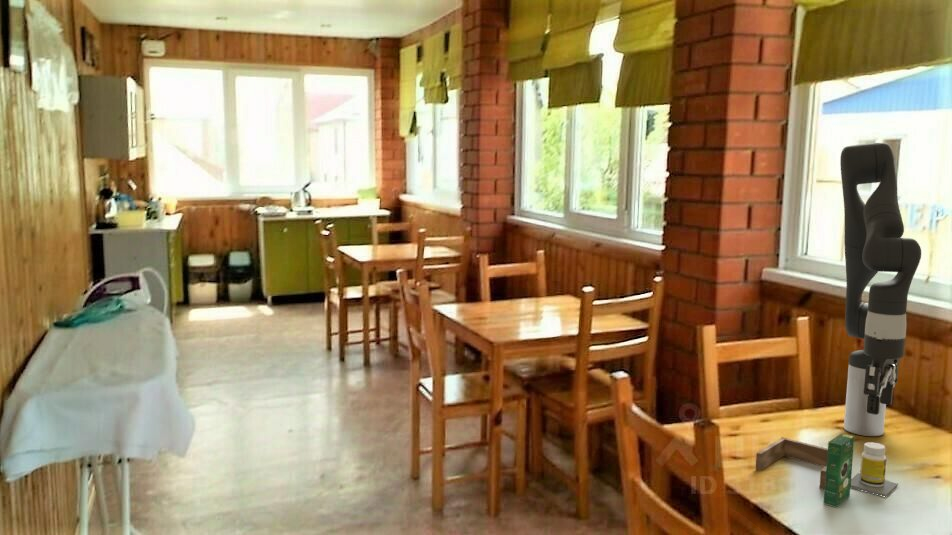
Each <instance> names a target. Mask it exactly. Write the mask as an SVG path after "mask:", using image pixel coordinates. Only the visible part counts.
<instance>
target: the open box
mask: <svg viewBox="0 0 952 535" xmlns="http://www.w3.org/2000/svg"><path fill="white" fill-rule="evenodd" d="M827 454H828V447H827V448H825V447H823V446H819V445H814V444H811V443H807V442H802V441H798V440H794V439H791V438H786V437H783V436H782V437H780V438H779V439H777V440H776V441H774V442H772V443H771V444H769V445H767V446H766V447H763V448H761V449H760V450H759V451H757V452H756V456H755V457H756V458H755V471H759V472H761V471H762V470H764V469H766V468H767V467H768V466H770V465H772V464H773V463H775V462H776V461H778V460H779V458H780V459H781V458H783V457H788V458H790V457H791V459H795V460H798V461H803V462H805V463H810V464H813V465H816V464H817V466H821V467H823V468H822V469H820V480H819V489H821V490H824V491H825V479H826V467H827ZM782 456H783V457H782Z"/></svg>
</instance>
